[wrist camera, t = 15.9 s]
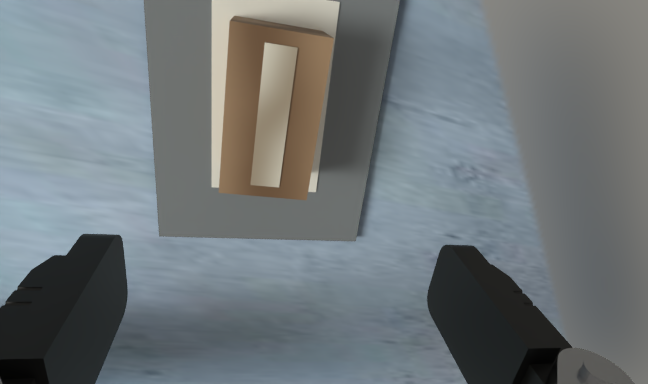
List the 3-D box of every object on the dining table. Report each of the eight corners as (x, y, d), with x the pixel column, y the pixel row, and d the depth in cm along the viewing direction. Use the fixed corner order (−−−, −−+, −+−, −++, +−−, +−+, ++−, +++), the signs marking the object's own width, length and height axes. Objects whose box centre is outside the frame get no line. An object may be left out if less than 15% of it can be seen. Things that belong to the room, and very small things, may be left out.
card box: (322, 30, 23) (334, 38, 20) (300, 172, 27) (306, 201, 23) (234, 15, 22) (229, 20, 19) (224, 165, 26) (218, 193, 22)
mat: (354, 236, 31) (355, 241, 30) (161, 231, 28) (159, 237, 28) (409, -70, 22) (413, -72, 22) (139, -117, 20) (135, -120, 19)
